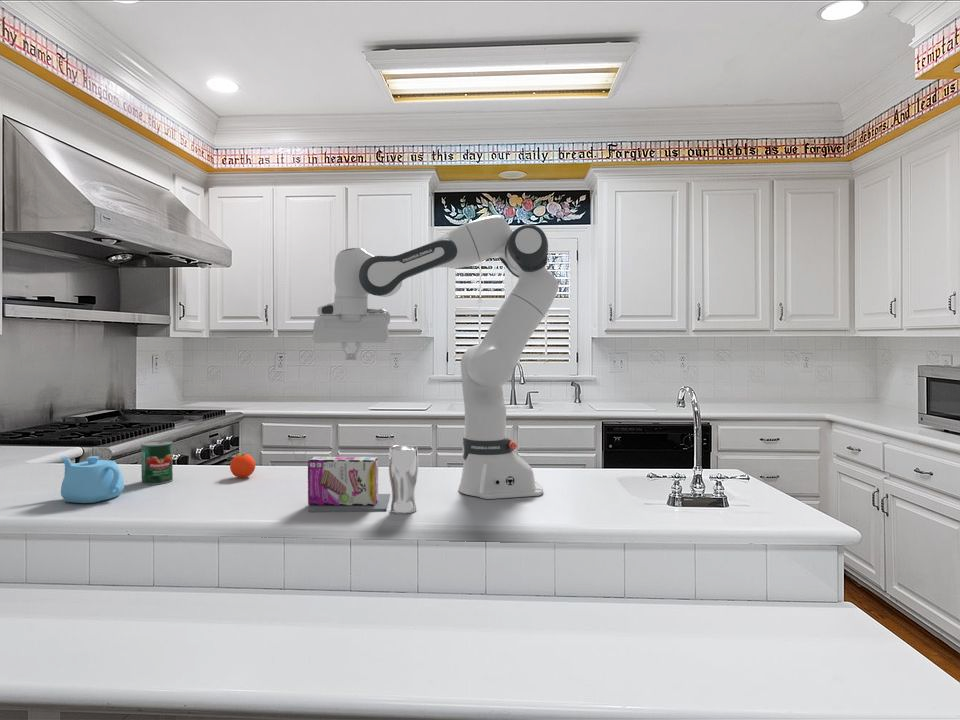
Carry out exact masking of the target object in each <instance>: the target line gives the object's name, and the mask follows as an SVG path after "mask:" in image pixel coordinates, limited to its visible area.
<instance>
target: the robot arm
mask: <svg viewBox="0 0 960 720" xmlns="http://www.w3.org/2000/svg"><path fill="white" fill-rule="evenodd" d="M548 251H549V242H548V237H547V236H546V234H545V232H544V231H543V230H542V229H541V228H540V227H539V226H538V225H537V226H536V225H535V224H523V225H520V226H518V227H517V228H515V229H511V226H510V225H509V223H508V221H507V220H506V219H505V218H503V217H502V216H500V215H490V216H486V217H482V218H479V219H478V218H477V219H475V220H472V221H469V222H466V223H464V224H462V225H459V226H457V227H455V228H452V229H451V230H449V231H447V232H445V233H444V234H443V235H441V236H439V237H438V238H436V239H434V240H433V241H431V242H429V243H427V244H425V245H422V246H419V247H415V248H414V249H411V250H408V251H405V252H403V253H400V254H397V255H391V256H390V255H376V256H374V255H373V254H371V253H369V252H367V251H366V250H365V249H364V248H361V247H351V248H346V249H343V250H341V251H339V252H338V253H337V255H336V257H335V261H334V272H333V273H334V274H333V279H334V282H333V283H334V285H335V292H334V298H333V299H334V302H331V303H327V304H323V305H321V306H319V307H317V310H316V312H317V314H318V316H316V318H315V319H314V321H313V322H314V323H313V327H312V328H313V329H312V339H313V340H312V341H313V342H315V343H317V344H323V343H325V344H327V343H328V344H331V343H332V344H339V343H341V349H342V351H343V352H344V354H345V360H346V361H350V360H353V361H354V360H355V361H356V360H357V361H358V353H359V351H360V350H361V348H362V344H363V343H364V344H366V343H367V344H369V343H370V344H371V343H372V344H373V343H375V344H377V343H379V344H382V343H383V344H384V343H387V342H389V340H390V337H389V336H390V334H389V333H390V332H389V327H388V326H389V325H390V324H391V323H390V322H391V314H390V312H388V311H387V310H385V309H384V308H379V309H377V308H369V307H368V305H369V304H368V301H369V300H368V299H369V298H368V297H369V295H372V296H378V297H382V298H383V297H384V298H388V297H391V296H394V295H395V294H396V293H398V292H399V290H400V289H401V287H402V283H403V281H404V280H406V279H408V278H411V277H413V276H417V275H419V274H422V273H424V272H427V271H430V270H433V269H438V268H449V269H463V268H467V267H470V266H473V265H476V264H478V263H482V262H484V261H485V260H488V259H491V258H496V257H498V258H499V261H500V262H501V263H502V264H503V265H504V267H505V268H506V269H507V270H508V271H509V272H510V273H511V274H512V275H513V276H514V277H516V278H517V279H518V280H517V282H516V284H515V286H514V288H513V289H512V291H510V293H509V295H508V296H507V298H506V299H505V301H504V302H503V303H502V304H501V306H500V308H499V309H498V310H497V312H496V314H495V315H494V317H493V318H492V321H491V323H490V325H489V328H488V330H487V332H486V333H485V335H484V337H483V339H482V340H481V342H480V344H475V345H472V346H470V347H469V348H468V349H466V350H465V351H464V353H463V355H462V356H461V360H460V373H461V384H462V385H461V386H462V395H463V403H464V437H463V438H462V458H463V465H462V472H461V477H460V482H459V486H458V489H457V491H458V492H460V493H461V494H463V495H464V494H465V495H467V496H471V497H472V496H473V497H478V498H481V499H483V500H484V499H486V500H491V499H492V500H494V499H508V498H509V499H510V498H521V497H522V498H523V497H524V498H525V497H537V496H541V495H542V494H544V488H543V486H542V485H541V484H540V483H539V482H537V481H536V480H535V475H534V472H533V468H532V467H531V465H530V464H529V463H528V462H526V461H525V460H524V459H523V458H522V457H520V456H519V455H518V454H516V453H515V452H513V451H515V450H516V449H517V447H518V444H517V443H516V442H515V440H511V439H510V438H509V437H507V406H506V404H505V403H506V402H505V400H504V393H503V385H504V384H506V383H508V382H509V381H510V380H511V378H512V376H513V374H514V370H515V368H516V366H517V363H518V362H519V360H520V358H521V355H522V353H523V351H524V349H525V347H526V345H527V344H528V341H529V340H530V338H531V337H532V335H533V333H534V332H535V331H536V329H537V328H538V326H539V325H540V323H541V322H542V320H543V319H544V317H545V316H546V314H547V313H548V311H549V309H550V307H551V306H552V304H553V302H554V300H555V298H556V296H557V293H558V290H559V283H558V280H557V278H556V277H555V276H554V274H553V273H551V272H550V271H549V270H547V268H546V266H547V264H548V256H549V255H548V254H549V252H548ZM350 343H351V344H352V343H354V344H355V348H356V349H355V351H354V352H349V351H348V349H347V348H348V346H349V345H348V344H350Z"/></svg>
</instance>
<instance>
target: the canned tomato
mask: <svg viewBox="0 0 960 720" xmlns="http://www.w3.org/2000/svg"><path fill="white" fill-rule="evenodd" d="M140 446H141V448H140V450H141V451H140V457H141V458H140V459H141V464H140V465H141V466H140V468H141V469H140V470H141V474H140V475H141V484H142V485H146V486H151V485H152V486H153V485H154V486H157V485H164V484H169V483H171V482H173V480H174V478H173V475H174V472H173V471H174V470H173V466H174V464H173V441H172V440H164V439H163V440H162V439H161V440H151V441H150V440H149V441H144V442H141V443H140Z"/></svg>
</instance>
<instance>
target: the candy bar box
mask: <svg viewBox="0 0 960 720" xmlns="http://www.w3.org/2000/svg"><path fill="white" fill-rule="evenodd" d="M378 494H379V457H378V456H312V457H310V458H309V459H308V460H307V505H308V506H312V505H376V503H377V501H378Z"/></svg>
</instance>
